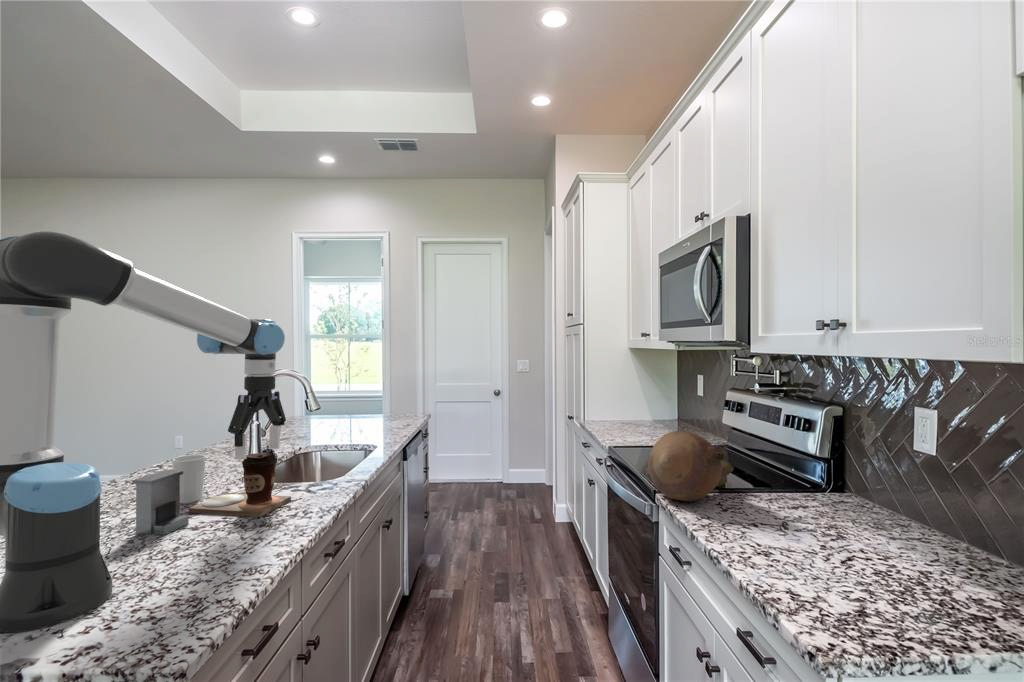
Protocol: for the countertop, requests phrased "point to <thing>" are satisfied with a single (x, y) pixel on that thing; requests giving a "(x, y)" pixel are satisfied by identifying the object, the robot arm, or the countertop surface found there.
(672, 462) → the jug
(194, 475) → the cup
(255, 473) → the coffee cup
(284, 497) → the walnut board
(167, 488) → the miniature fireplace
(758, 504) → the countertop surface
